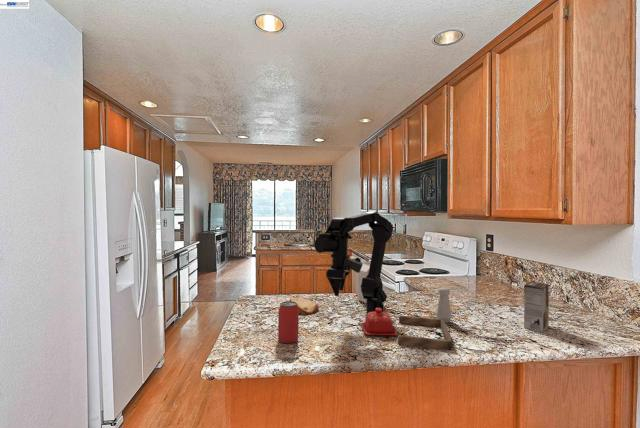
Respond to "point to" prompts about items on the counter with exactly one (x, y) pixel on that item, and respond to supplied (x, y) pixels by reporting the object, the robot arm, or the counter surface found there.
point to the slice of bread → (305, 306)
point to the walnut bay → (425, 342)
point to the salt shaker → (444, 305)
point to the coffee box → (536, 306)
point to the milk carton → (361, 274)
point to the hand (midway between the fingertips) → (339, 293)
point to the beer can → (288, 322)
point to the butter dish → (378, 323)
